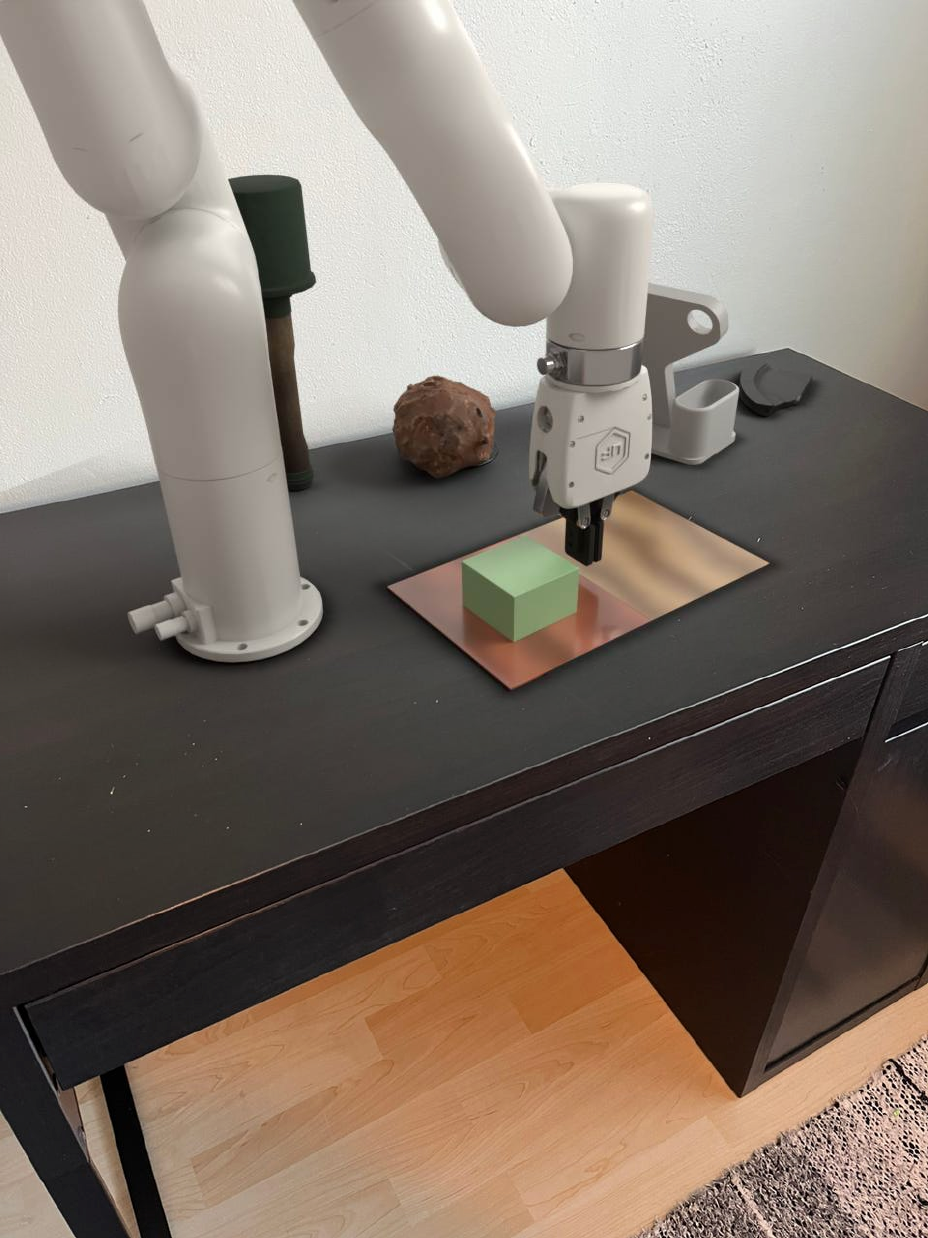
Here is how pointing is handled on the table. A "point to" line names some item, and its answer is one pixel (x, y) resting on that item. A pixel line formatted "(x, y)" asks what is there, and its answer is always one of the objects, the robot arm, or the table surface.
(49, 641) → the table surface
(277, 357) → the potato masher grenade
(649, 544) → the plate
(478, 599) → the green block
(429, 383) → the decorative rock
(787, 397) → the dark sector wedge
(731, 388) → the phone holder
